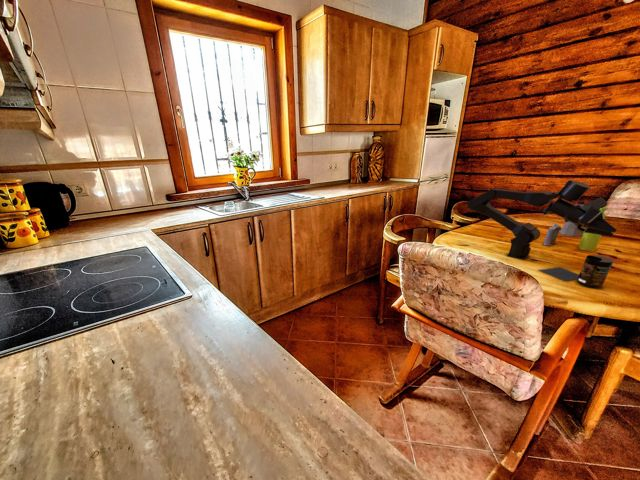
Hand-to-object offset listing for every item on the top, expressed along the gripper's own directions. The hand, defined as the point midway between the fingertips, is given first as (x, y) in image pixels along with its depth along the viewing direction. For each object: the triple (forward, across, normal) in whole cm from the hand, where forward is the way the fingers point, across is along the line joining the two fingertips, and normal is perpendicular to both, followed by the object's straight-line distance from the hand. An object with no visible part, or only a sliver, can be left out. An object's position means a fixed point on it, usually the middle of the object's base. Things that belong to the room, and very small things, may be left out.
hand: (614, 233), depth 101 cm
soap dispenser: (-4, +39, +4) cm, 39 cm away
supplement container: (+7, -3, +19) cm, 21 cm away
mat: (-1, +1, +20) cm, 20 cm away
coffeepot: (-15, +58, 0) cm, 60 cm away
